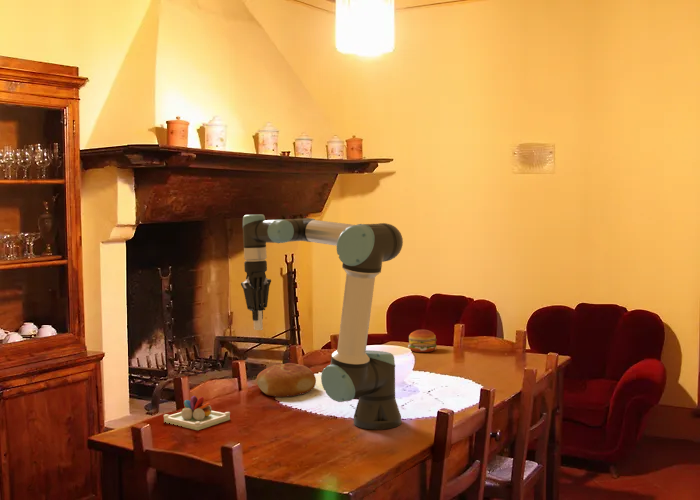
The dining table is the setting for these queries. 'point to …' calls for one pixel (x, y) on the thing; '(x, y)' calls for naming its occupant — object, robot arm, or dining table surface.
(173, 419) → the white square tray
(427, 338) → the burger
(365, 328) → the robot arm
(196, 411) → the colourful fan
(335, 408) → the dining table surface
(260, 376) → the bread
